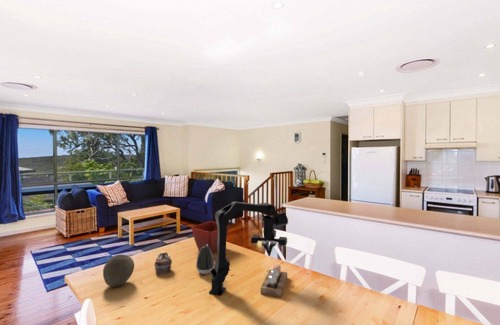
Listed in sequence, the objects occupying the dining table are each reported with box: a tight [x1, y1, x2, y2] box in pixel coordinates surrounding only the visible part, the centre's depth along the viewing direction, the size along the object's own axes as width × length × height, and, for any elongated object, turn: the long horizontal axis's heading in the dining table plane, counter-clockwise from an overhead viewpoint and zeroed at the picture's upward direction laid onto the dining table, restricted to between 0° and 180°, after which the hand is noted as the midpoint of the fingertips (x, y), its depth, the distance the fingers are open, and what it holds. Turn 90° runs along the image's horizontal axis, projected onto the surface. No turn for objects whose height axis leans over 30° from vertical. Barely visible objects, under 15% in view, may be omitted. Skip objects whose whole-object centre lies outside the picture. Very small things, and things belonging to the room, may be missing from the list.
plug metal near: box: [268, 274, 277, 288], centre depth 122 cm, size 4×4×5 cm
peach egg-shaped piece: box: [272, 264, 282, 276], centre depth 132 cm, size 4×4×5 cm
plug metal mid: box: [270, 268, 279, 282], centre depth 127 cm, size 4×4×5 cm
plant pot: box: [191, 220, 230, 254], centre depth 174 cm, size 19×19×17 cm
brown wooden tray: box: [260, 269, 288, 298], centre depth 127 cm, size 19×10×3 cm, turn 163°
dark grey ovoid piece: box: [195, 244, 215, 275], centre depth 141 cm, size 10×10×15 cm
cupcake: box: [153, 252, 173, 275], centre depth 143 cm, size 10×10×10 cm
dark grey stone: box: [102, 254, 135, 288], centre depth 128 cm, size 14×14×15 cm
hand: (269, 255), depth 132 cm, fingers closed
